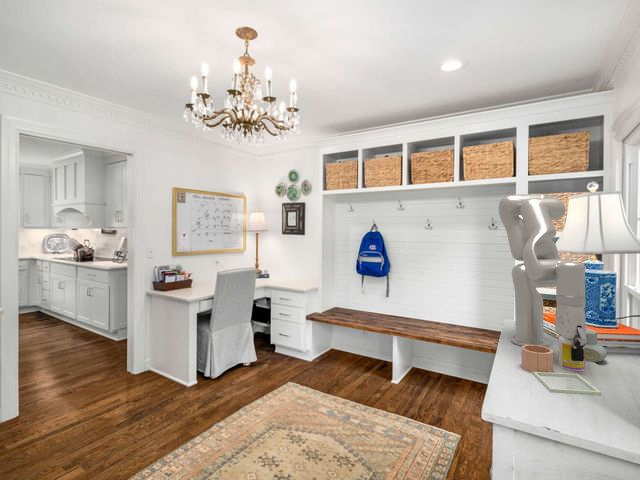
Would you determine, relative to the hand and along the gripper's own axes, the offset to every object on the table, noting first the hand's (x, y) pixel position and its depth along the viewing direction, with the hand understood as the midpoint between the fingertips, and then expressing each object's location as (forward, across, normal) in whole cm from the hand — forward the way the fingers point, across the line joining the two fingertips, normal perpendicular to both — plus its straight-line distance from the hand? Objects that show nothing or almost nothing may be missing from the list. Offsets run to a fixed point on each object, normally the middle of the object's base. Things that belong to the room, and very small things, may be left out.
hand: (571, 356), depth 111 cm
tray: (+4, +14, -8) cm, 17 cm away
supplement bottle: (+4, 0, 0) cm, 4 cm away
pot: (+4, +3, -11) cm, 12 cm away
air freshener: (+4, -10, +9) cm, 14 cm away
